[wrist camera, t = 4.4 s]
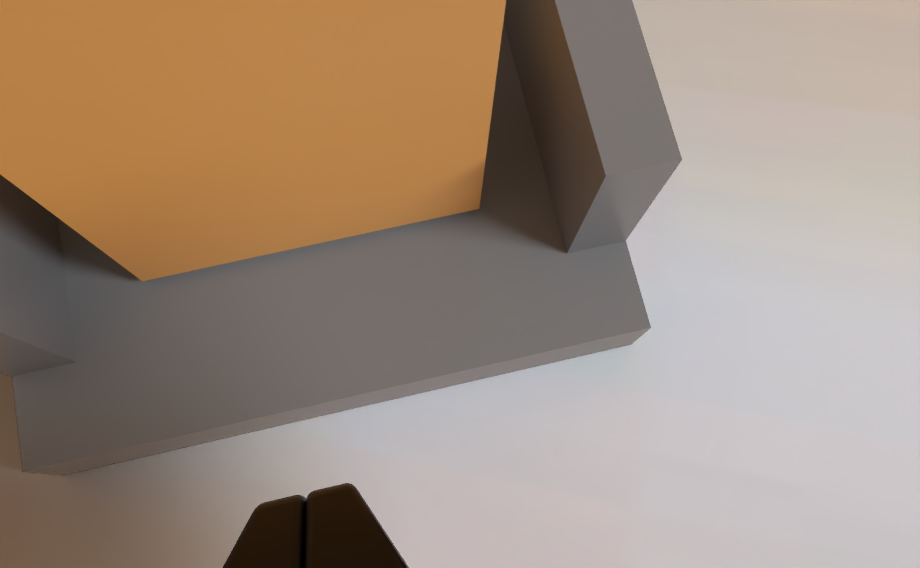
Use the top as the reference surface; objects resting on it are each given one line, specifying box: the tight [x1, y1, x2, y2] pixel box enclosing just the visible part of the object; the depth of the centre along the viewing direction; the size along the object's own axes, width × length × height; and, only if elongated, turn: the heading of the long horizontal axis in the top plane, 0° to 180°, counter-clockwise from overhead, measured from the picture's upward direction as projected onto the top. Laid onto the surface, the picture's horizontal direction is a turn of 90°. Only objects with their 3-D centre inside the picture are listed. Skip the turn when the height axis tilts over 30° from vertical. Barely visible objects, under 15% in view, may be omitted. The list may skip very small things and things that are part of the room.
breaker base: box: [0, 0, 682, 475], centre depth 14 cm, size 10×10×5 cm
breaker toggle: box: [0, 0, 506, 281], centre depth 10 cm, size 2×6×10 cm, turn 103°
